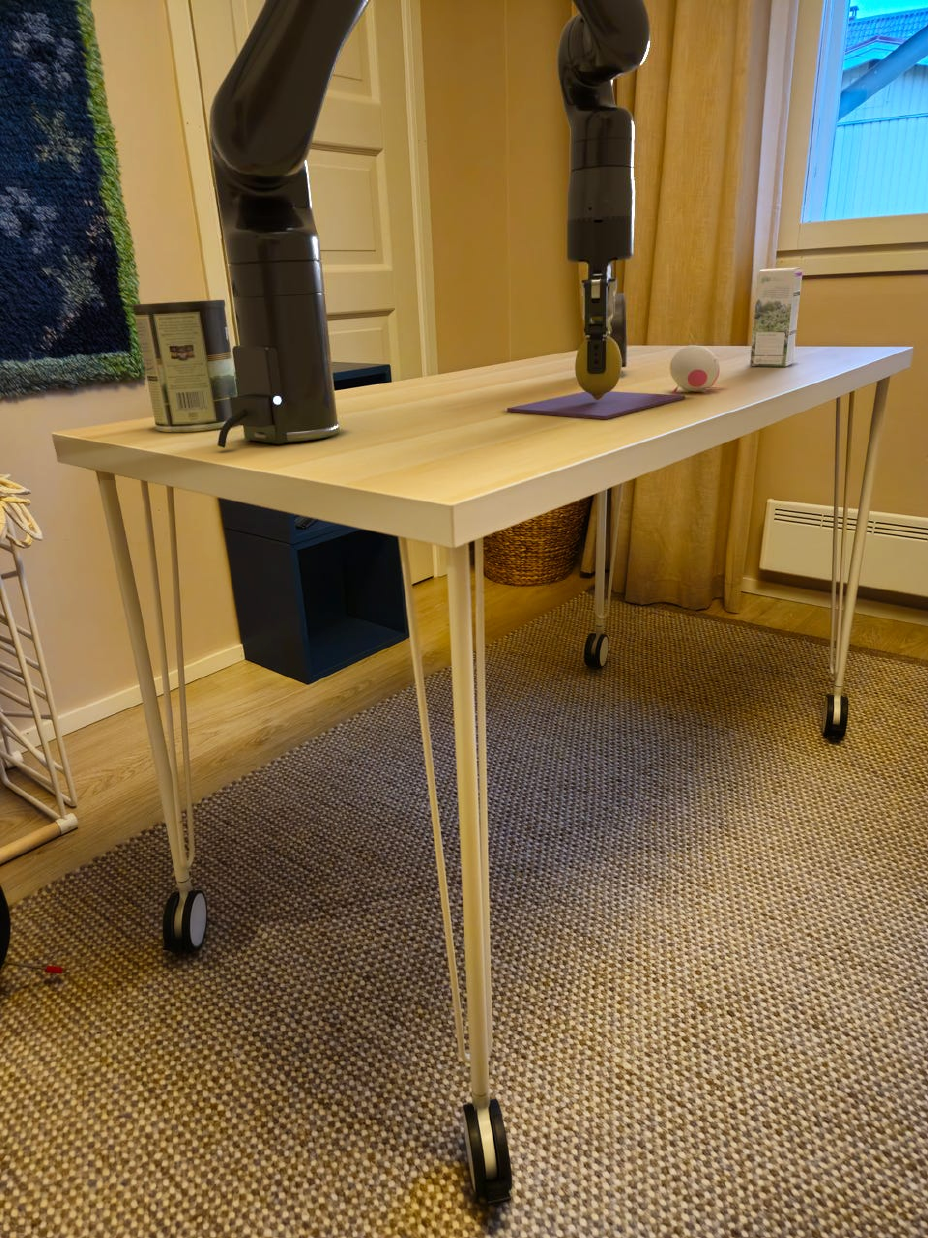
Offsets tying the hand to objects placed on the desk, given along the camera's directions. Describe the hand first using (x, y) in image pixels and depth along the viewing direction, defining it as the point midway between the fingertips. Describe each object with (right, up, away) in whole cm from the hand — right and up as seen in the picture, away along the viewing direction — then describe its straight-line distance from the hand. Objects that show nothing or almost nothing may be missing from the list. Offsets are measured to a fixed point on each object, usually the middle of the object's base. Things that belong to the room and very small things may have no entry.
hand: (598, 369), depth 100 cm
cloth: (0, -4, +2) cm, 4 cm away
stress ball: (+15, 0, +9) cm, 17 cm away
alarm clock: (+7, +9, +32) cm, 34 cm away
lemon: (0, -3, +1) cm, 4 cm away
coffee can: (-49, -7, +1) cm, 49 cm away
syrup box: (+34, +11, +34) cm, 49 cm away
